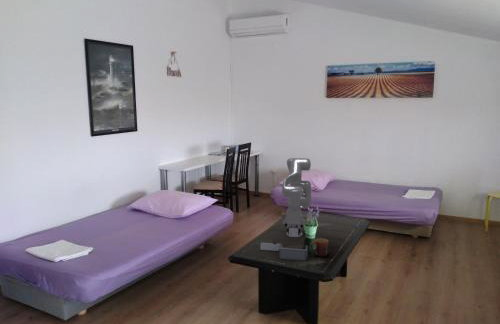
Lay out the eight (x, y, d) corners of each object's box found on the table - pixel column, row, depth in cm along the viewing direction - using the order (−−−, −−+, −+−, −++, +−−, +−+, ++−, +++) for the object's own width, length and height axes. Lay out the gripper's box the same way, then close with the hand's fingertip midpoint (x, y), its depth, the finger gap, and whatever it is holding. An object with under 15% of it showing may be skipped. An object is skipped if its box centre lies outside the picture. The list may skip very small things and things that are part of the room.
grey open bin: (280, 252, 273) (280, 242, 272) (307, 253, 270) (307, 244, 268) (278, 258, 262) (278, 248, 260) (306, 260, 258) (306, 250, 257)
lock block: (289, 232, 268) (289, 223, 267) (298, 233, 268) (298, 224, 267) (288, 236, 261) (289, 227, 260) (298, 237, 260) (298, 228, 259)
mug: (324, 252, 273) (325, 238, 271) (329, 257, 264) (330, 242, 262) (308, 253, 270) (308, 239, 269) (312, 258, 262) (313, 243, 260)
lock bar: (260, 248, 278) (261, 240, 277) (280, 249, 275) (280, 242, 274) (260, 249, 276) (260, 241, 275) (279, 251, 273) (280, 243, 272)
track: (259, 248, 278) (259, 248, 278) (280, 250, 276) (280, 250, 276) (259, 250, 275) (259, 250, 275) (279, 251, 273) (279, 251, 273)
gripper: (307, 206, 263) (307, 232, 266) (281, 205, 266) (281, 231, 269) (307, 209, 256) (306, 236, 259) (280, 208, 259) (280, 234, 262)
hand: (293, 233), depth 264 cm, fingers closed on lock block, 6 cm apart
